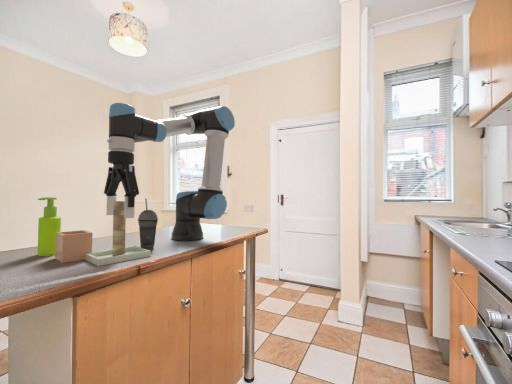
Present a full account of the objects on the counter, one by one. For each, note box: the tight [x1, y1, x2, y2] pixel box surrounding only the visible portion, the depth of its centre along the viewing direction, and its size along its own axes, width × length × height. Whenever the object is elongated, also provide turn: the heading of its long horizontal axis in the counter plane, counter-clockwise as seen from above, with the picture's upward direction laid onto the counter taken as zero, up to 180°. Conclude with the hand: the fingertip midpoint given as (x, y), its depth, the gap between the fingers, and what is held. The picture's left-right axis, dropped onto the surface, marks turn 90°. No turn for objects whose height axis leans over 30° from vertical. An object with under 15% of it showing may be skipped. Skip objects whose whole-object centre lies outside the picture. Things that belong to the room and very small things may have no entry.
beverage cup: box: [137, 198, 159, 251], centre depth 98 cm, size 7×7×20 cm
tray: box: [84, 245, 152, 267], centre depth 82 cm, size 16×11×3 cm
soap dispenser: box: [37, 196, 62, 257], centre depth 84 cm, size 6×7×20 cm
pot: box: [54, 229, 93, 264], centre depth 80 cm, size 8×8×9 cm
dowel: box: [112, 200, 127, 256], centre depth 82 cm, size 4×4×18 cm
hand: (119, 216), depth 82 cm, fingers open, 13 cm apart
